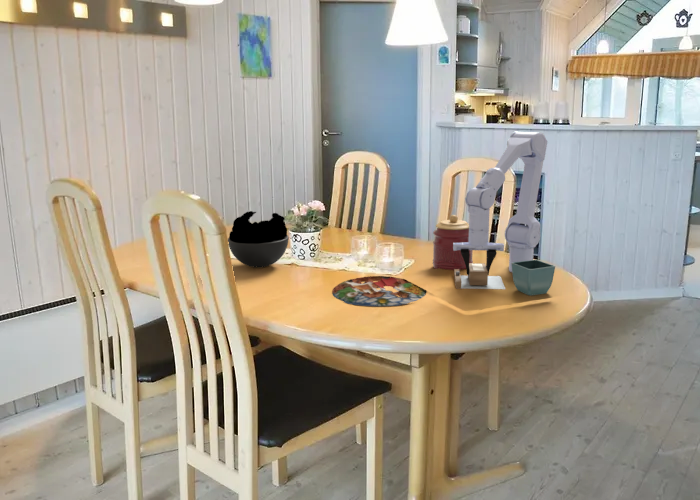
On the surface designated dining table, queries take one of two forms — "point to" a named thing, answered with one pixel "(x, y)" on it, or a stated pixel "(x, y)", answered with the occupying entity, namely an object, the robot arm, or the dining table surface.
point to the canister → (450, 244)
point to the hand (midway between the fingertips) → (477, 274)
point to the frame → (478, 274)
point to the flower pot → (532, 276)
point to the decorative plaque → (377, 291)
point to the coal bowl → (258, 240)
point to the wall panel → (463, 282)
